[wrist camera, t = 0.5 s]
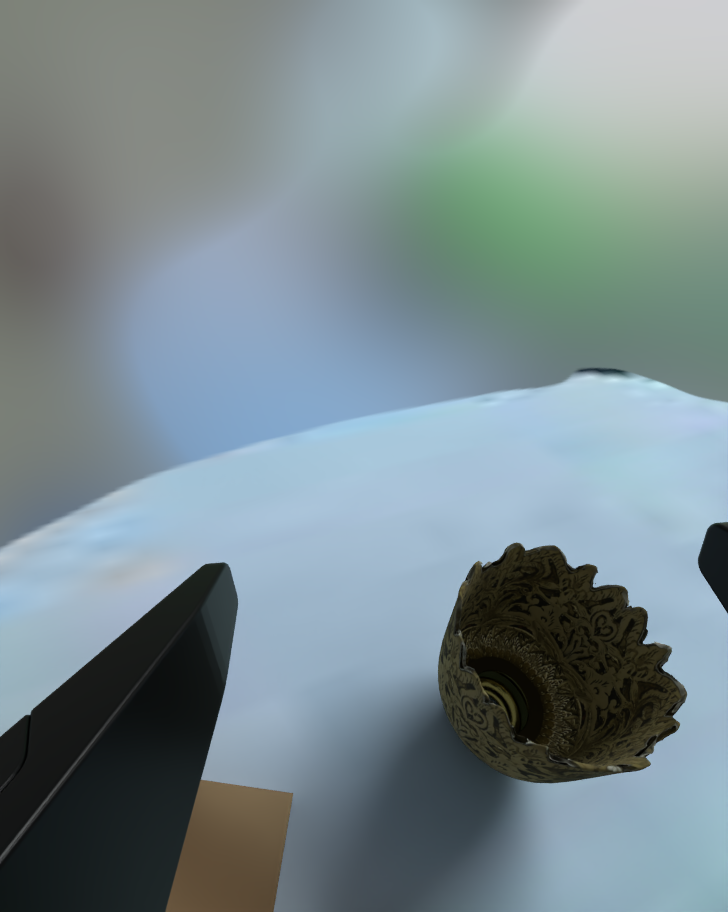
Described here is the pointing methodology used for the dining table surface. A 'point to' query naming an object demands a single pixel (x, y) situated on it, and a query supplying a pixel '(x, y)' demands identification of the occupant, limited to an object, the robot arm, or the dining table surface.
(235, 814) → the post board
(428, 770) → the dining table surface
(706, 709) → the dining table surface
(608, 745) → the cup
